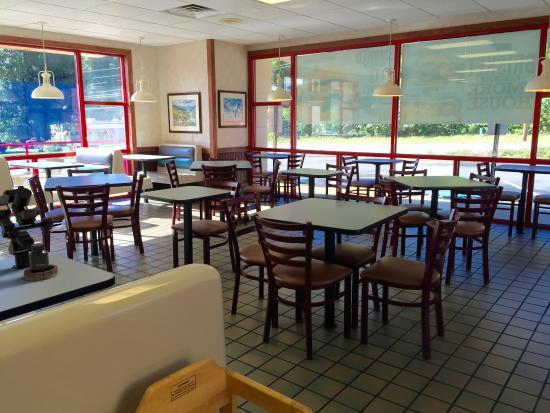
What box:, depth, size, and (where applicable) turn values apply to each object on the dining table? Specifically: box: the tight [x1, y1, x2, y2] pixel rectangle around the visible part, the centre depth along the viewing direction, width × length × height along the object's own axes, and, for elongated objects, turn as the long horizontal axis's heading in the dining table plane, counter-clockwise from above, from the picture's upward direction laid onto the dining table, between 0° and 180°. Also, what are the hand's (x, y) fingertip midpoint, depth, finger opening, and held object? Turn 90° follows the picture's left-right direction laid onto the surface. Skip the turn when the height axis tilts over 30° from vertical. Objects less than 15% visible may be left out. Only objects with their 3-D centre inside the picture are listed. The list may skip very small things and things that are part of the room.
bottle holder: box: [22, 264, 59, 282], centre depth 187 cm, size 12×12×3 cm
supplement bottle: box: [29, 243, 50, 273], centre depth 186 cm, size 7×7×12 cm
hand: (35, 243), depth 187 cm, fingers open, 9 cm apart
